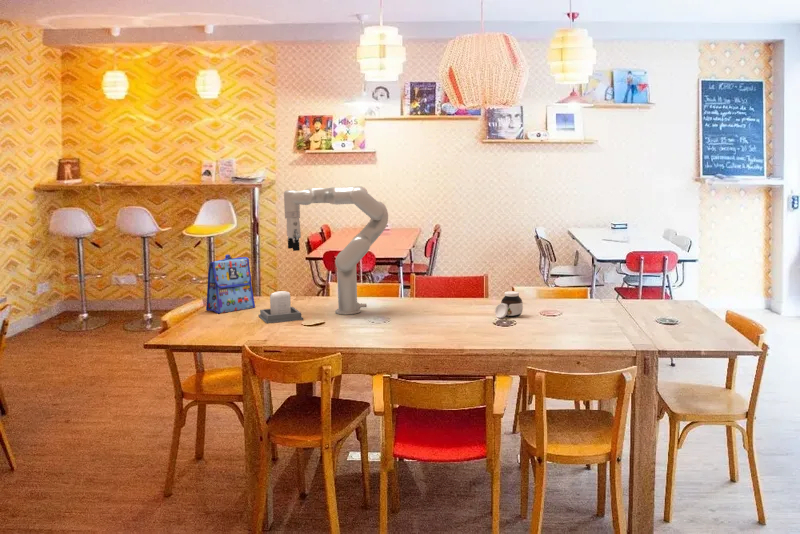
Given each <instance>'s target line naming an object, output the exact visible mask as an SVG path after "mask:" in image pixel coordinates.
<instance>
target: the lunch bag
mask: <svg viewBox="0 0 800 534" xmlns="http://www.w3.org/2000/svg"><path fill="white" fill-rule="evenodd" d="M206 289H207V290H206V307H205V308H206V311H209V312H210V311H213V312H215V313H216V314H223V313H225V314H226V313H230V312H237V311H243V310H249V309H254V308H256V303H255V297H254V291H253V286H252V274H251V268H250V260H249V257H247V256H242V257H235V258H232V256H231V255H230V254H225V257H224V259H219V260H215V261H210V263H209V264H208V272H207V288H206Z"/></svg>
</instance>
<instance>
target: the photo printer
mask: <svg viewBox="0 0 800 534" xmlns="http://www.w3.org/2000/svg"><path fill="white" fill-rule="evenodd" d="M269 303H270V304H269V305H270V306H269V307H270V308H269V309H270V310H271V315H277V314H287V313H291V307H292V305H291V293H290V292H289V291H284V290H281V291H280V290H278V291H275V292H272V293H270V295H269Z"/></svg>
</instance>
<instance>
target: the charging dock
mask: <svg viewBox="0 0 800 534" xmlns="http://www.w3.org/2000/svg"><path fill="white" fill-rule="evenodd" d="M259 310H260V311H259V314H258V318H259V319H261V320H262V321H263V322H264V323H266V324H268V325H269V324H277V323H285V322H286V323H287V322H295V321H297V322H298V321H304V317H303V316H302V312H301V311H299V310H298V309H297V308H295V307H294V306H291V313H287V314H277V315H271V310H270V308H264V309H259Z"/></svg>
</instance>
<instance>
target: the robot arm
mask: <svg viewBox="0 0 800 534" xmlns="http://www.w3.org/2000/svg"><path fill="white" fill-rule="evenodd" d="M283 202H284V203H283V204H284V206H283V207H284V208H283V209H284V219H285V220H286V236H287V248H288V249H292V251H294V252H296V251H297V252H298V251H300V249H301V248H300V239H301V237H302V234H301V222H300V219H301V208H300V207H301V206H300V205H303V206H304V205H305V206H310V205H311V204H330V205H355V207H357V208H358V209H359V210H360V211H362V213H364V214H365V215H367V216H368V218H370V220H369V222H368V223H367V224H365V226H364V227H363V228H362V230H360V231H359V232H358V234H356V235H355V236H354V237H353V238H352V239H351V241H350V242H348V244H347V245H346V246H345V247H344V248H343V249H342V250H341V251H339V252H338V253H337V256H336V257H335V267H336V268H337V271H336V273H337V275H336V276H337V300H338V301H337V303H338V304H337V306H338V307H337V309H335V311H334V312H335V314H338V315H355V314H356V315H357V314H359V313H361V312H362V311H361V308H364V309H365V308H367V307H368V305H367V303H359V302H358V285H357V284H358V283H357V282H358V281H357V279H358V278H357V277H358V276H357V264H358V263H359V262H360V261H361V260H362V259H363V258H364V257H365V256H366V254H367V253H368V252H369V251H370V248H371V246H372V245H373V244H374V243H375V242H376V241H377V240H378V238H379V237H380V236H381V235H382V233H383V232H385V230H386V228H387V225H388V221H389V212H388V209H387V207H386V205H385V204H384V202H382V201H378V200H377V199H375V198H374V197H373V196H372V195H371V194H370V193H368V190H367V189H366V188H365V187H363V186H358V185H357V186H336V187H335V186H334V187H318V188H316V187H315V188H314V187H312V188H305V189H302V190H296V189H288V190H284V191H283Z"/></svg>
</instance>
